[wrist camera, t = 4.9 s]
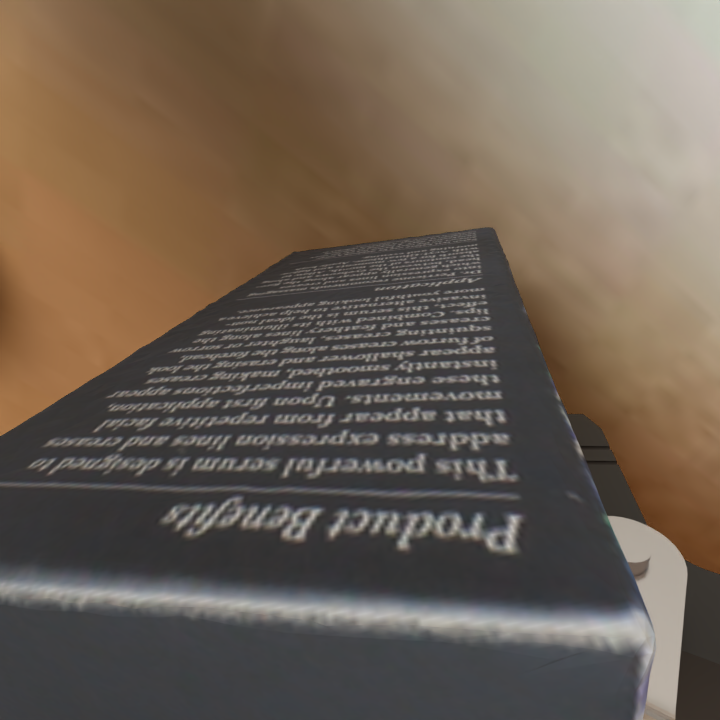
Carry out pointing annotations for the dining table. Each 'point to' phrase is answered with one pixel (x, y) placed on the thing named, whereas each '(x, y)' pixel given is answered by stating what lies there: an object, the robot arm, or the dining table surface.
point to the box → (320, 514)
